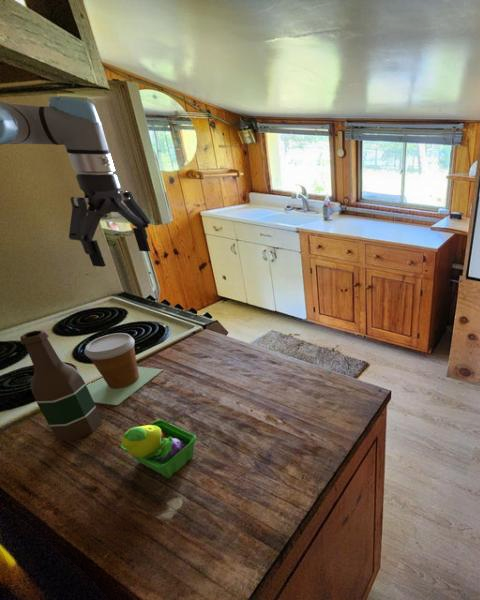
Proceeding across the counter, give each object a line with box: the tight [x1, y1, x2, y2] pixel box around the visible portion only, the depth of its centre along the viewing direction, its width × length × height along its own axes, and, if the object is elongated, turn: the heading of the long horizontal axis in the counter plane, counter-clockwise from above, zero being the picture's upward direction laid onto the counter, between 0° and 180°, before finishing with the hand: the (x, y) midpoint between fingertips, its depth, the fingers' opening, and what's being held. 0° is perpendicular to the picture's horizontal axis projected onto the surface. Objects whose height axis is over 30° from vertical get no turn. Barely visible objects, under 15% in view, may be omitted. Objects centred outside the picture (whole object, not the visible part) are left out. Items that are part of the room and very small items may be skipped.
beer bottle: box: [19, 329, 103, 442], centre depth 65 cm, size 8×8×24 cm
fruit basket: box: [120, 419, 197, 479], centre depth 62 cm, size 11×9×11 cm
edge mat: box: [86, 366, 164, 407], centre depth 84 cm, size 14×14×1 cm
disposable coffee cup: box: [84, 332, 139, 389], centre depth 82 cm, size 10×10×12 cm
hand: (123, 258), depth 87 cm, fingers open, 13 cm apart
